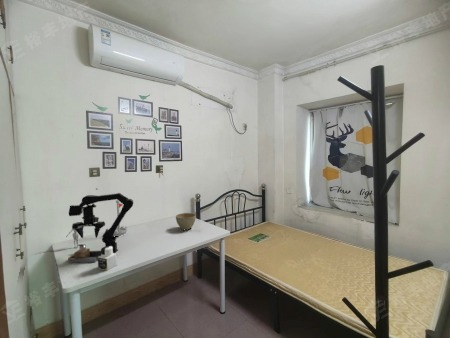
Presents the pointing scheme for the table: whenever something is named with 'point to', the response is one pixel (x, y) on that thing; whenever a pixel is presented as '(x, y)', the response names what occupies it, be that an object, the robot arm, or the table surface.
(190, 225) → the flower pot
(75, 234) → the human figurine
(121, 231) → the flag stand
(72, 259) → the bay
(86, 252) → the brown block
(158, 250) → the table surface
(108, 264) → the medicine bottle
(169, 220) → the table surface
